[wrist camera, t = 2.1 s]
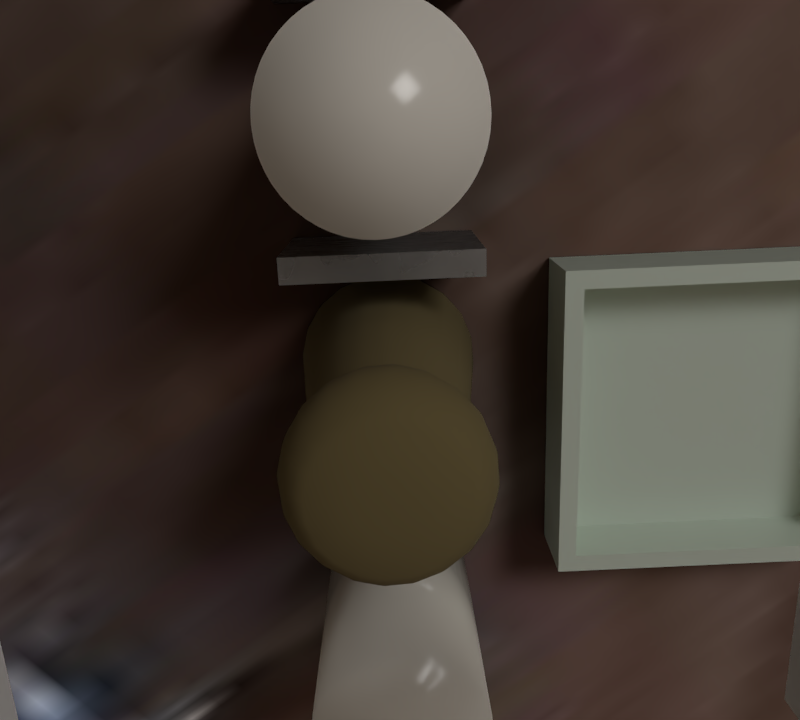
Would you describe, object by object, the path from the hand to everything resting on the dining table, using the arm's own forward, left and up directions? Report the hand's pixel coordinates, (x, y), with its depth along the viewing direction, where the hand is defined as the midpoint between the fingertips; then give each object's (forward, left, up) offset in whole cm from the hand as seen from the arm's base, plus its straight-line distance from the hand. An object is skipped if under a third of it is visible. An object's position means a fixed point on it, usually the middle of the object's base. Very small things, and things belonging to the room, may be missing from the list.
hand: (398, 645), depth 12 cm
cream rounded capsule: (+8, 0, -15) cm, 17 cm away
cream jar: (-8, 0, -15) cm, 17 cm away
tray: (+2, +11, -15) cm, 19 cm away
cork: (0, 0, -15) cm, 15 cm away
